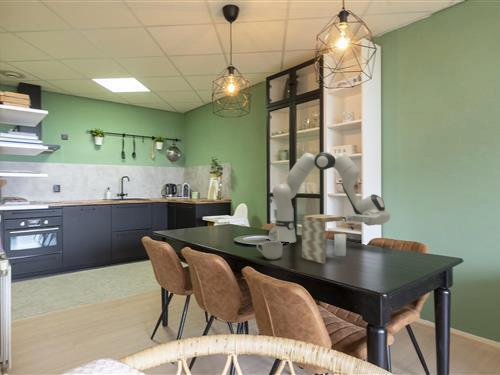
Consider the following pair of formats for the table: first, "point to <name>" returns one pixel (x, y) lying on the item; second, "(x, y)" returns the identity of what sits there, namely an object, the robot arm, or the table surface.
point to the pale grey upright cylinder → (340, 244)
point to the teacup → (271, 249)
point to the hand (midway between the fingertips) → (354, 219)
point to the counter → (315, 236)
